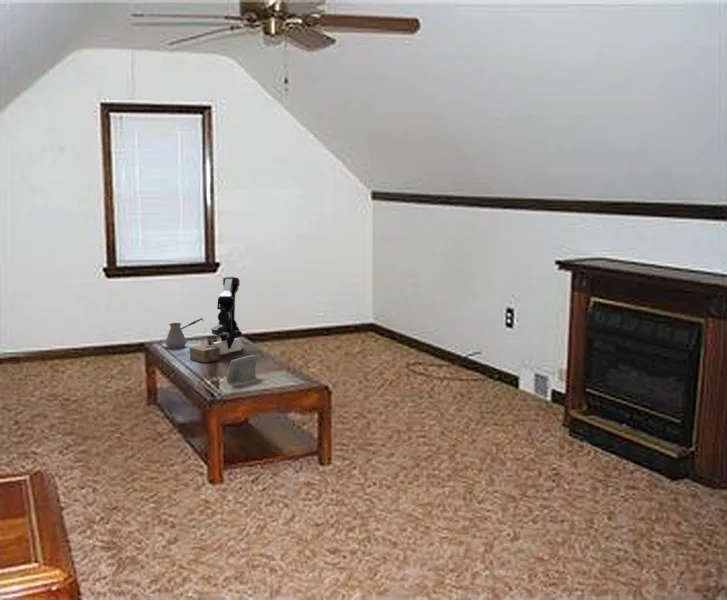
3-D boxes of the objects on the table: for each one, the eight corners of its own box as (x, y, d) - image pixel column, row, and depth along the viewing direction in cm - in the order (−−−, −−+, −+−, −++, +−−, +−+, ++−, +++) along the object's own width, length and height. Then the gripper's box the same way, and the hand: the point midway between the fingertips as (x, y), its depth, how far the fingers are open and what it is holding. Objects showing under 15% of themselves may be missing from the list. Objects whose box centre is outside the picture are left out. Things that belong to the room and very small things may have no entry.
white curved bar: (237, 348, 423) (237, 337, 422) (241, 349, 420) (241, 338, 420) (207, 355, 409) (207, 343, 408) (211, 356, 406) (210, 344, 406)
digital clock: (252, 374, 374) (251, 352, 372) (263, 378, 367) (262, 356, 365) (222, 380, 363) (221, 358, 361) (233, 384, 356) (232, 361, 355)
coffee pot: (167, 349, 427) (166, 322, 425) (163, 345, 438) (162, 319, 435) (206, 346, 436) (205, 319, 433) (202, 342, 446) (201, 316, 444)
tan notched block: (206, 355, 413) (206, 344, 412) (220, 359, 405) (219, 347, 404) (190, 358, 406) (189, 347, 405) (204, 362, 398) (203, 350, 397)
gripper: (202, 318, 413) (203, 348, 416) (224, 323, 401) (225, 353, 403) (220, 316, 421) (221, 344, 424) (242, 320, 409) (243, 350, 411)
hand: (227, 348), depth 415 cm, fingers closed on white curved bar, 3 cm apart
